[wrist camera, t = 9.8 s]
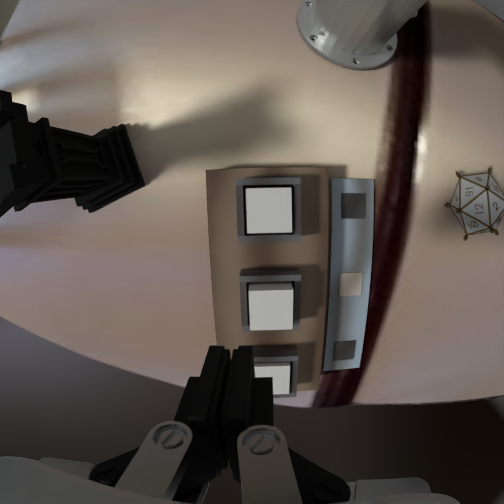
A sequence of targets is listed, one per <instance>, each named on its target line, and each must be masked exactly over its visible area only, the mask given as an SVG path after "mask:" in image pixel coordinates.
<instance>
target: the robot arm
mask: <svg viewBox="0 0 504 504" xmlns="http://www.w3.org/2000/svg"><path fill="white" fill-rule="evenodd" d="M426 1H427V0H304V1H303V2H302V3H301V5H300V8H299V10H298V15H297V24H298V28H299V31H300V33H301V35H302V37H303V39H304V40H305V42H306V43H307V44H308V46H309V47H311V48H312V49H313V50H314V51H315V52H316V53H317V54H319V55H320V56H321V57H323V58H324V59H326V60H328V61H330V62H332V63H334V64H336V65H339V66H342V67H345V68H350V69H357V70H366V69H373V68H376V67H379V66H381V65H383V64H384V63H386V62H387V61H388V60H389V59H390V58H391V57H392V55H393V54H394V52H395V50H396V47H397V33H396V32H397V31H398V30H399V29H400V28H401V27H402V26H403V25H404V24H405V23H406V22H407V21H408V20H409V19H410V18H413V17H416V16H417V11H418V10H419V9H420V8H421V7H422V5H423V4H424V3H425V2H426ZM313 40H314V41H313ZM354 62H355V63H356V64H355V63H354ZM228 459H229V463H230V467H231V469H232V472H233V476H234V479H235V480H236V481H237V482H239V483H240V484H241V487H242V495H243V504H460V503H459V502H458V501H456V500H455V499H453V498H451V497H449V496H445V495H441V494H434V493H431V492H430V488H429V485H428V484H427V483H426V482H425V481H424V480H421V479H419V478H402V479H385V480H357V482H354V483H353V482H345V481H344V480H343V479H341V478H339V477H337V476H336V475H334V474H332V473H330V472H328V471H326V470H325V469H323V468H321V467H319V466H318V465H316V464H314V463H313V462H311V461H309V460H307V459H306V458H304V457H302V456H301V455H299V454H297V453H296V452H294V451H293V450H291V449H290V448H288V447H287V444H286V441H285V437H284V435H283V433H282V432H281V431H280V430H279V429H277V428H275V427H274V416H273V377H255V368H254V354H253V345H240V346H238V349H233V353H232V358H231V356H230V350H229V349H225V347H224V346H210V347H209V349H208V353H207V356H206V359H205V362H204V365H203V368H202V371H201V375H200V377H189V379H188V382H187V385H186V388H185V391H184V393H183V396H182V399H181V401H180V404H179V407H178V410H177V413H176V416H175V419H174V421H168V422H163V423H160V424H158V425H157V426H155V427H154V428H153V429H152V430H151V431H150V433H149V434H148V436H147V437H146V439H145V441H144V442H143V444H142V445H141V447H139V448H136V449H134V450H132V451H129V452H127V453H125V454H122V455H120V456H117V457H115V458H112V459H110V460H107V461H105V462H102V463H100V464H98V465H96V466H93V465H92V464H91V463H83V462H75V461H67V460H60V459H54V458H45V459H41V460H40V461H39V462H38V461H34V460H30V459H26V458H20V457H0V504H202V501H203V499H204V496H205V494H206V491H207V489H208V484H209V483H208V482H209V481H210V480H212V479H214V478H215V477H216V476H221V471H222V469H227V466H228Z"/></svg>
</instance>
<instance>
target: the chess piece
mask: <svg viewBox="0 0 504 504" xmlns="http://www.w3.org/2000/svg"><path fill="white" fill-rule="evenodd" d="M143 186H145V184H144V181H143V178H142V175H141V172H140V170H139V167H138V164H137V161H136V158H135V155H134V152H133V149H132V146H131V143H130V140H129V137H128V134H127V131H126V127H125V125H124V124H121V125H119V126H117V127H115V126H113V127H111V128H109V129H103V130H102V131H100V132H98V133H97V134H95V135H93V136H90V135H86V134H82V133H78V132H74V131H69V130H65V129H60V128H56V127H51V126H50V125H49V120H48V118H44V117H42V118H41V119H40V120H38V121H37V122H36V123H32V122H28V116H27V109H26V105H23V104H19V103H15V102H12V95H11V93H10V92H6V91H3V90H0V217H1V216H2V215H4V214H5V213H6V212H7V211H8V210H9V209H11V208H12V207H13V206H14V209H15V212H16V211H21V210H23V209H24V208H25V207H27V206H28V205H29V204H31V203H35V202H42V201H50V200H58V199H67V198H75V201H76V204H77V207H78V206H82V207H83V210H86V209H88V211H89V213H92V212H94V211H96V210H98V209H99V208H101V207H103V206H105V205H107V204H109V203H111V202H113V201H115V200H117V199H119V198H121V197H123V196H125V195H127V194H129V193H131V192H133V191H135V190H137V189H139V188H141V187H143Z"/></svg>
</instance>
